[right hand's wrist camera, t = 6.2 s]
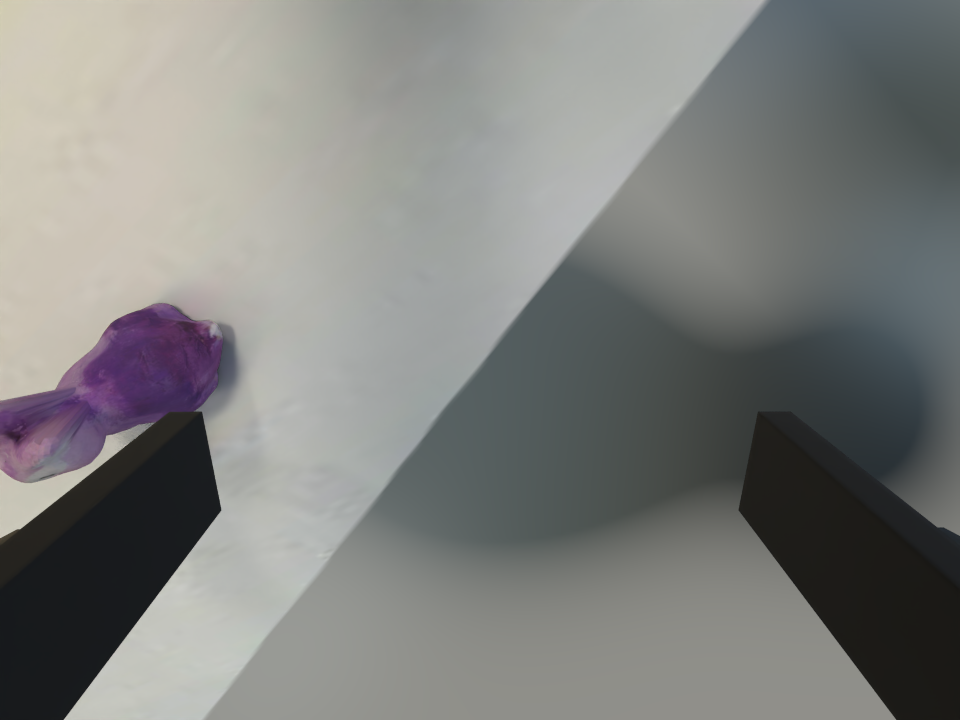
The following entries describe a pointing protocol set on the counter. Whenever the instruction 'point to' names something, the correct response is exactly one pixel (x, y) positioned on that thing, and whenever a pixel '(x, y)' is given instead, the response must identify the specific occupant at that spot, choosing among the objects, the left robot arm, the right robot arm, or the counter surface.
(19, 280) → the counter surface
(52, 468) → the figurine
